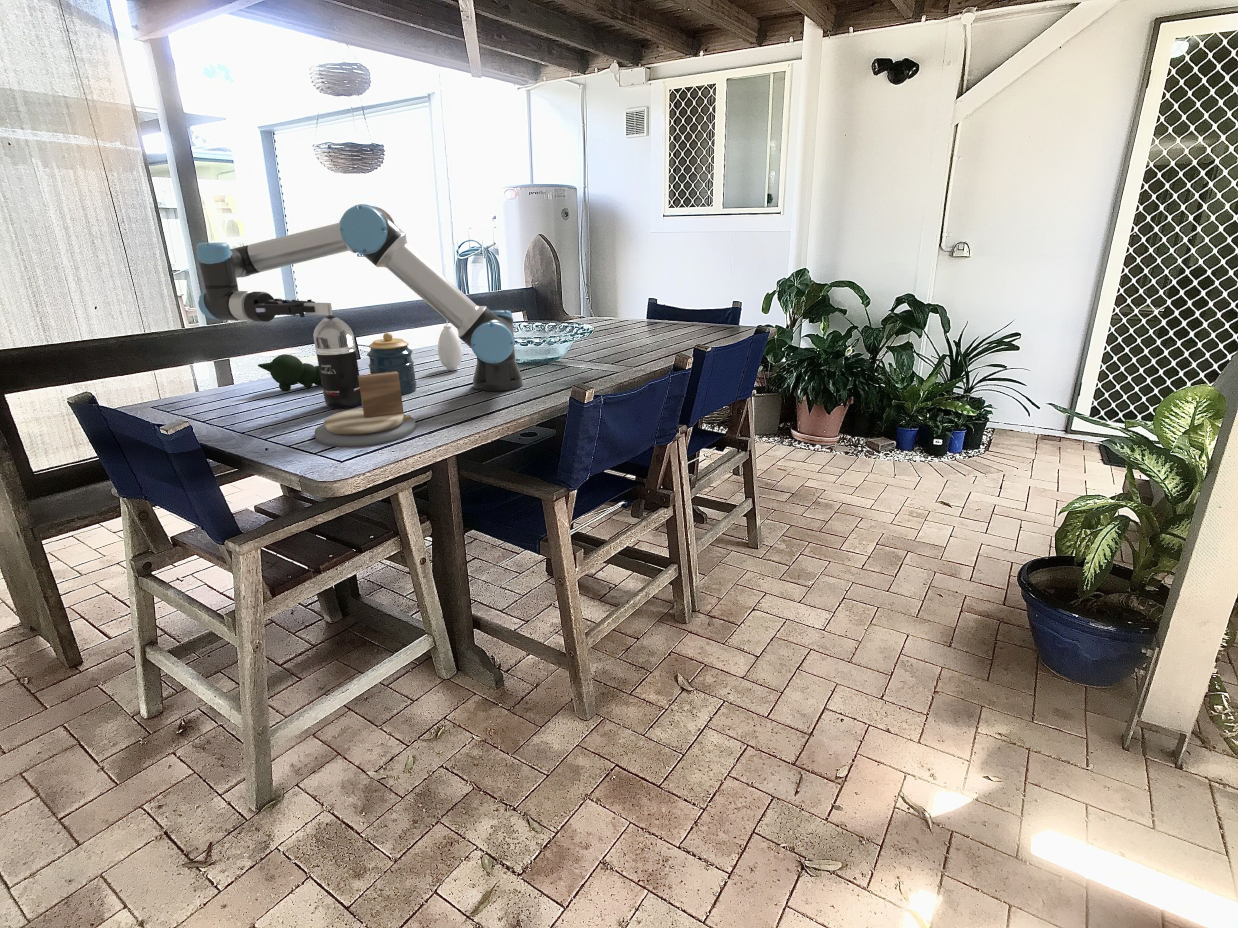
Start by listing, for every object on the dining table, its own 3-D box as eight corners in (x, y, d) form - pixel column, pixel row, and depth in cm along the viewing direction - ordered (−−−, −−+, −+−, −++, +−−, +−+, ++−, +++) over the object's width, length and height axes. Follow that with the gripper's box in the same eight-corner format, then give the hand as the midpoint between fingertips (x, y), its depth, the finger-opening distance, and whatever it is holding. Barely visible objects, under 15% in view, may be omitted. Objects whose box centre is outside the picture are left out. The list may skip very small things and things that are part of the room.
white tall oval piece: (455, 373, 220) (449, 319, 214) (435, 371, 222) (429, 318, 216) (467, 368, 227) (462, 316, 220) (448, 367, 229) (443, 315, 223)
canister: (392, 398, 188) (383, 337, 182) (363, 393, 195) (354, 334, 189) (426, 389, 199) (419, 331, 193) (397, 384, 205) (390, 328, 199)
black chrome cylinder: (350, 410, 176) (335, 317, 167) (317, 409, 178) (300, 317, 169) (371, 401, 185) (358, 312, 177) (339, 399, 187) (324, 312, 179)
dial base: (419, 415, 171) (418, 409, 170) (411, 442, 149) (410, 434, 149) (326, 421, 166) (325, 414, 166) (305, 450, 145) (303, 442, 144)
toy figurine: (343, 385, 212) (257, 389, 198) (339, 326, 207) (251, 327, 192) (351, 390, 205) (263, 395, 191) (347, 330, 200) (256, 330, 185)
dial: (411, 426, 154) (404, 379, 150) (329, 438, 146) (320, 388, 142) (396, 409, 168) (390, 365, 164) (321, 419, 160) (313, 373, 156)
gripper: (277, 317, 174) (350, 320, 167) (235, 325, 162) (311, 328, 155) (272, 289, 172) (345, 290, 165) (228, 294, 159) (305, 296, 152)
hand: (328, 309), depth 160 cm, fingers closed
